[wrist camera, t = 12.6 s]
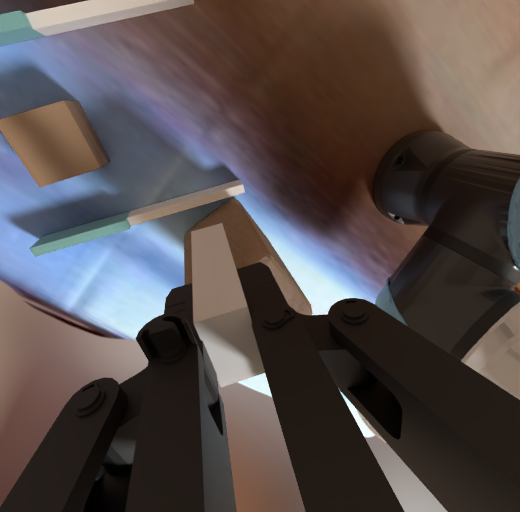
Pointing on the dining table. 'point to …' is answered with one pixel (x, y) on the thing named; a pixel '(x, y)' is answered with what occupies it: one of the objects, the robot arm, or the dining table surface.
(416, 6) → the dining table surface
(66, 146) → the walnut block
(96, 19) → the walled lane
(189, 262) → the wooden block
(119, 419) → the robot arm
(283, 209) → the dining table surface
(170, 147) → the dining table surface
